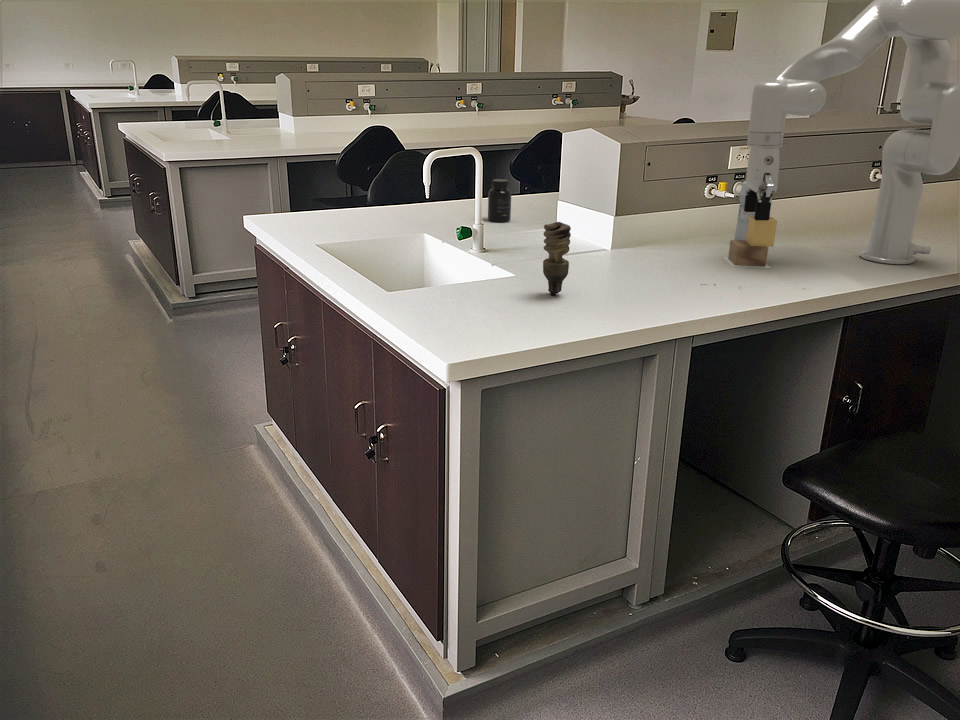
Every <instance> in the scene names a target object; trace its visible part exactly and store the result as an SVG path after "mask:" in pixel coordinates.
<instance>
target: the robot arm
mask: <svg viewBox="0 0 960 720" xmlns="http://www.w3.org/2000/svg"><path fill="white" fill-rule="evenodd" d="M896 37H898V38H899V37H900V38H902V39H903V41H904V42H905V44H906V46H907V49H908V52H909V56H910V57H909V58H910V62H909V67H908V73H907V77H906V81H905V85H904V89H903V94H902V98H901V102H900V107H899V108H900V109H899V110H900V111H899V114H900V116H901V118H902V119H903V120H904V121H906V122H908V123H912V124H916V125H917V124H919V125H926V126H927V125H928V126H931V129H930V131H929V130H922V129H914V128H913V129H912V128H911V129H910V128H907V129H906V128H905V129H900V130H897V131H895V132H893V133H892V134H891V135H889V136H888V137H887V139H886V140H885V142H884V144H883V147H882V152H881V153H882V154H881V155H882V157H881V163H882V166H881V167H882V171H881V179H880V184H879V190H878V195H877V199H876V205H875V209H874V210H875V211H874V215H873V219H872V220H873V221H872V225H871V230H870V235H869V239H868V245H867V249H862V250H860V251H859V256H861V259H864V260H867V261H871V262H875V263H881V264H890V265H910V264H913V263H915V259H916V255H917V254H921V255H929V254H930V253H931V246H929V245H928V246H927V245H925V246H921V245H919V244H915V242H913V237H914V232H915V228H916V223H917V219H918V214H919V209H920V206H921V201H922V197H923V191H924V181H923V177H922V174H925V175H933V176H941V175H945V174H947V173H949V172H950V171H952V170H953V169H954V167H955V166H956V164H957V162H959V159H960V83H959V82H949V76H950V70H951V67H952V59H953V57H952V55H953V54H952V49H951V46H950V43H949V42H948V40H949V41H950V40H954V39H956V38H959V37H960V0H873V1H872V2H871V3H869V4H868V5H867V6H866V7H865V8H864V9H863V10H862V11H861V12H860V13H858V14H857V16H855V18H853V19H852V20H851V21H850V22H849V24H847V25H846V26H845V27H844V28H843V29H842V30H841V31H839V33H838V34H837V35H836V36H835V37H833V38H832V39H831V40H829V41H828V42H825V43H823V44H822V45H820V46H818V47H816V48H814V49H813V50H811V51H810V52H808V53H806V54H804V55H803V56H801V57H799V58H798V59H796V60H795V61H793V62H792V63H791V64H790V65H788V66H787V67H786V68H785V69H784V70H783V71H782V72H781V73H780V74H779V75H778V76H776V78H775V79H774V80H773V81H760V82H759V81H758V82H757V83H756V84H755V85H754V86H753V90H752V95H751V97H752V98H751V107H750V113H749V115H750V116H749V123H748V132H747V133H748V134H747V140H746V141H747V142H746V143H747V144H746V147H749V148H750V149H749V156H748V160H747V161H748V162H747V167H746V169H747V170H746V176H745V177H746V179H745V181H746V185H747V190H746V196H745V205H744V211H745V212H755V216H754V219H755V220H769V217H771V216H770V215H771V210H772V208H771V207H772V201H773V194H774V193H776V192H778V184H779V183H778V182H779V172H780V148H782V147H783V143H784V134H785V125H786V118H787V116H788V115H792V116H797V117H798V116H799V117H807V116H812V115H815V114H817V113H818V112H820V111H822V109H823V108H824V105H825V104H826V102H827V91H826V89H825V87H824V86H823V85H822V84H821V83H819V82H821V81H823V80H826V79H828V78H833V77H836V76H839V75H840V76H841V75H843V74H846V73H848V72H851V71H853V70H855V69H858V68H859V67H861V66H862V64H864V63H865V61H866V60H868V59H869V58H870V57H871V56H872V55H873V54H874V53H875V52H876V51H878V49H879V48H880V47H881V46H882V45H883V44H885V42H887V41H888V40H889V39H891V38H896ZM761 194H763V195H762V197H761Z"/></svg>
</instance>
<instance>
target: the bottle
mask: <svg viewBox="0 0 960 720" xmlns="http://www.w3.org/2000/svg"><path fill="white" fill-rule="evenodd" d="M740 188H741V189H740V192H739V199H738V200H739V206H738V207H739V208H738V215H737V222H736V228H735V232H734V239H733V240H744V241H746V237H747V230H748V223H749V216H755V212H745V211H744V205H745V196H746V190H747V185H746V180H745V181H743V182H742V185H741V187H740ZM762 195H763V194H761V197H762Z"/></svg>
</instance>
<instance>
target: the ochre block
mask: <svg viewBox="0 0 960 720" xmlns="http://www.w3.org/2000/svg"><path fill="white" fill-rule="evenodd" d="M777 224H778V220H777V219H775V218H774V217H772V216H770V217H769V220H755V219H754V216H749V223H748V230H747V237H746V242H747V243H748V244H750V245H751V246H766V247H768V248H769V247H770V248H773V247H774V245H775V237H776V231H777V226H778V225H777Z"/></svg>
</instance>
